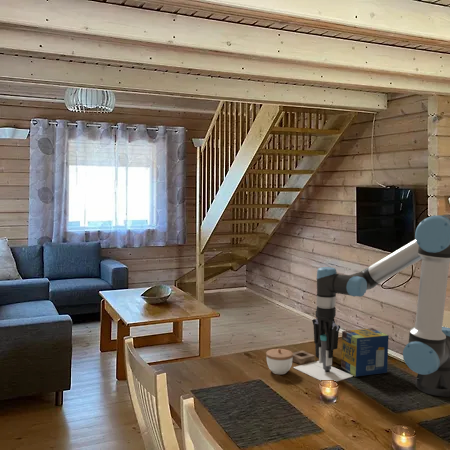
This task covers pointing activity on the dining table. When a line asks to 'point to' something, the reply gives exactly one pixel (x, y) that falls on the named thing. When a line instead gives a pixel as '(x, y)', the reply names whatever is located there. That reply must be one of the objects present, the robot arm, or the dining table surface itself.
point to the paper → (322, 372)
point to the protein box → (364, 352)
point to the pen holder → (303, 357)
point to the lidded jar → (279, 360)
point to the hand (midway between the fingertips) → (325, 363)
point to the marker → (324, 352)
